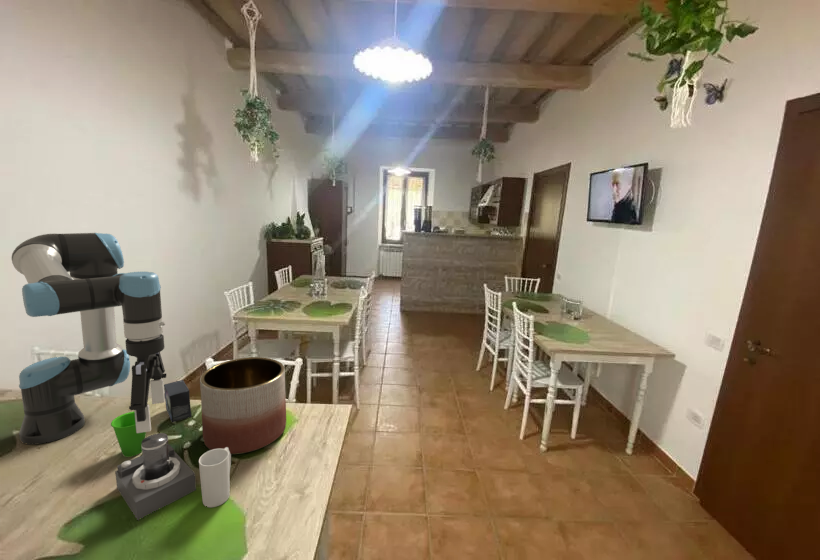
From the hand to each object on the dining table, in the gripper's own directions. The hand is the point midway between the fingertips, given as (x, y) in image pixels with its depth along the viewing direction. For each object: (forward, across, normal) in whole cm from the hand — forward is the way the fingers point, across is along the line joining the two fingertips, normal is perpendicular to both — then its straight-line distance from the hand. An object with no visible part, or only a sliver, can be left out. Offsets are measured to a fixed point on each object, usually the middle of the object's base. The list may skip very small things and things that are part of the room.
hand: (151, 416), depth 91 cm
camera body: (+22, +1, +1) cm, 22 cm away
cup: (+22, +20, +11) cm, 32 cm away
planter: (+22, +20, -21) cm, 36 cm away
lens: (+17, 0, 0) cm, 17 cm away
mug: (+22, -6, -15) cm, 27 cm away
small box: (+22, +40, +2) cm, 46 cm away
